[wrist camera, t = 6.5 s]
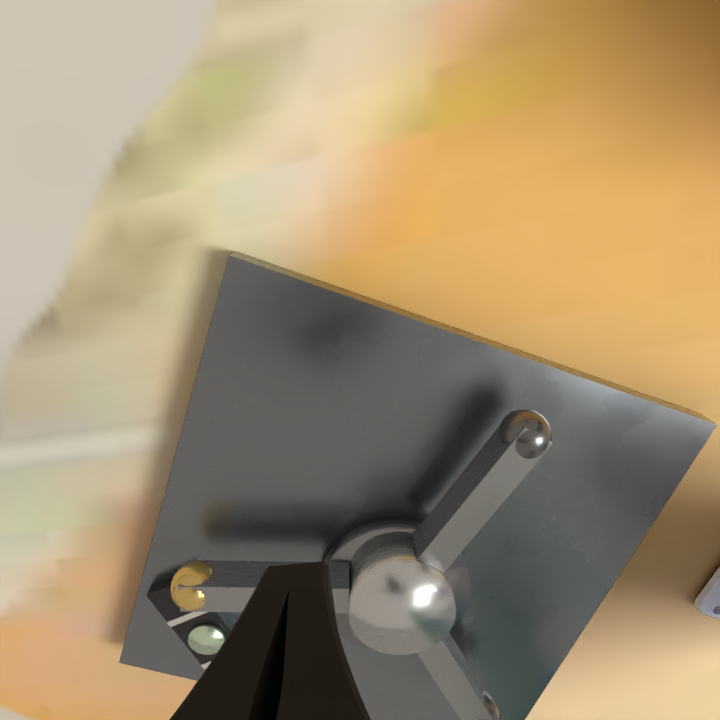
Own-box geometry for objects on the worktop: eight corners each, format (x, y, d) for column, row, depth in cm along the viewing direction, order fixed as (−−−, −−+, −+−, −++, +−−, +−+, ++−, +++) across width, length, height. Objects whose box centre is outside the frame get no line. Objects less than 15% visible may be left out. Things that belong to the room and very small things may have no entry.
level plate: (700, 413, 21) (731, 434, 19) (498, 731, 27) (508, 767, 25) (235, 251, 18) (223, 258, 17) (127, 644, 24) (111, 678, 23)
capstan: (169, 382, 19) (137, 418, 16) (536, 392, 19) (570, 429, 16) (197, 689, 24) (177, 757, 21) (485, 690, 24) (504, 758, 21)
